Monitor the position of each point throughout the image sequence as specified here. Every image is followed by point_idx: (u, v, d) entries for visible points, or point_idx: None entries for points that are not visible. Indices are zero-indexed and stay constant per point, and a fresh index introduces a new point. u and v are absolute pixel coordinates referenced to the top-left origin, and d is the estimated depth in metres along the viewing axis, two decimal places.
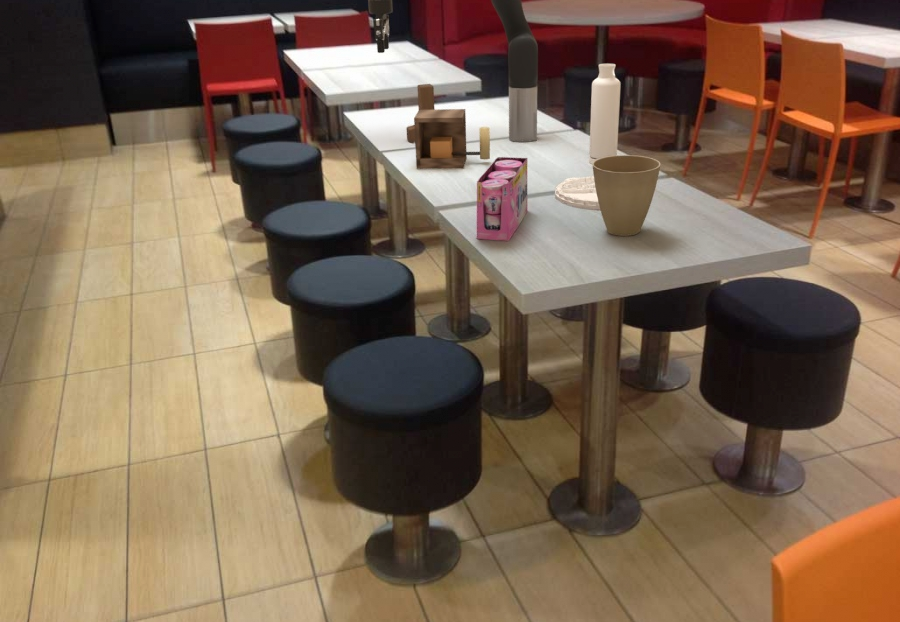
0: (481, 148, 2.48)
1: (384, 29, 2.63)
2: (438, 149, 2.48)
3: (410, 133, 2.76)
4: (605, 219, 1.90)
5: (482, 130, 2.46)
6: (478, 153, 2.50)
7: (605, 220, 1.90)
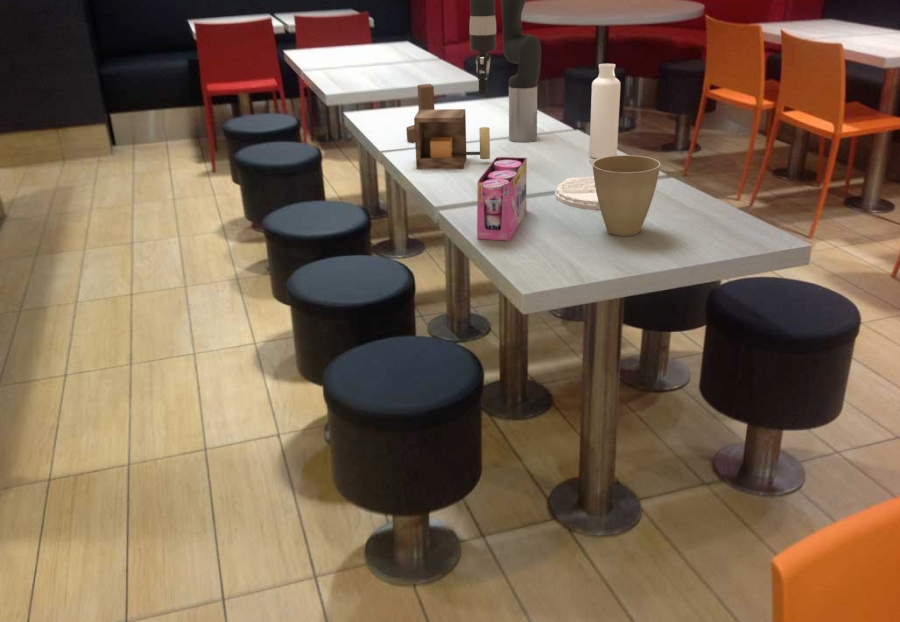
0: (481, 148, 2.48)
1: (487, 68, 2.36)
2: (438, 149, 2.48)
3: (410, 133, 2.76)
4: (605, 219, 1.90)
5: (482, 130, 2.46)
6: (478, 153, 2.50)
7: (605, 220, 1.90)
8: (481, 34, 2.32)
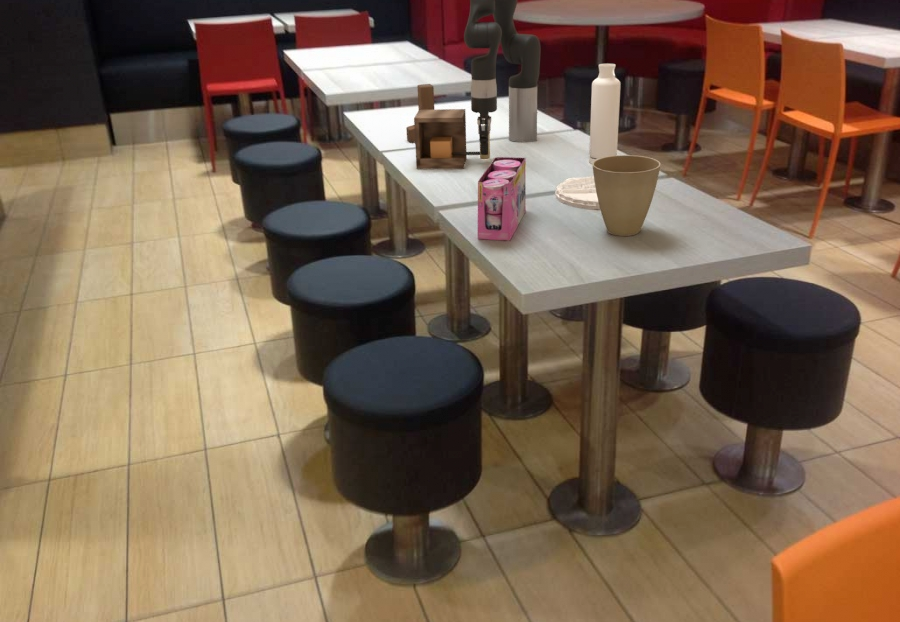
0: None
1: (488, 130, 2.45)
2: (438, 149, 2.48)
3: (410, 133, 2.76)
4: (605, 219, 1.90)
5: None
6: (478, 153, 2.50)
7: (605, 220, 1.90)
8: (482, 97, 2.39)
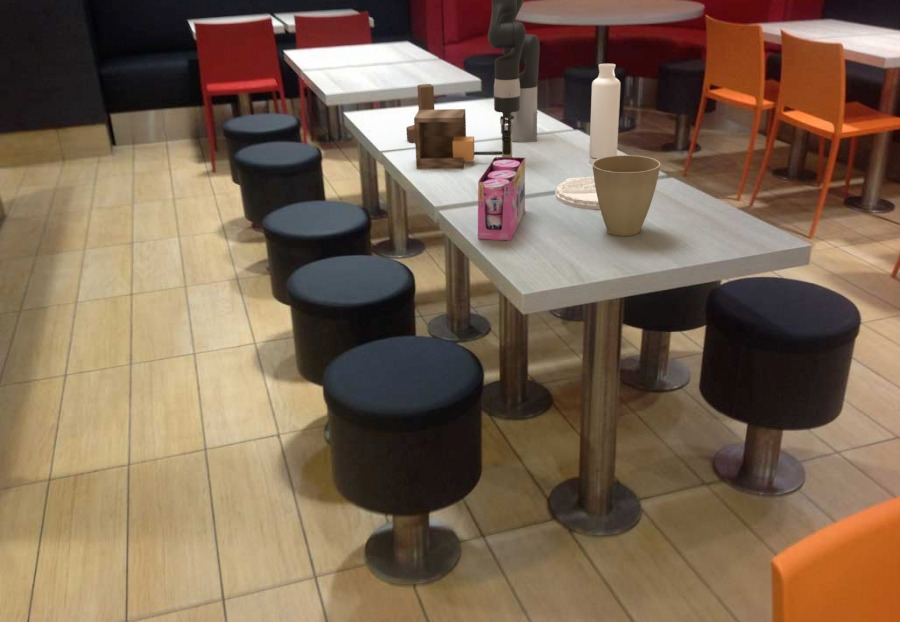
0: None
1: (511, 130, 2.44)
2: (460, 149, 2.47)
3: (410, 133, 2.76)
4: (605, 219, 1.90)
5: None
6: (500, 153, 2.49)
7: (605, 220, 1.90)
8: (505, 97, 2.39)
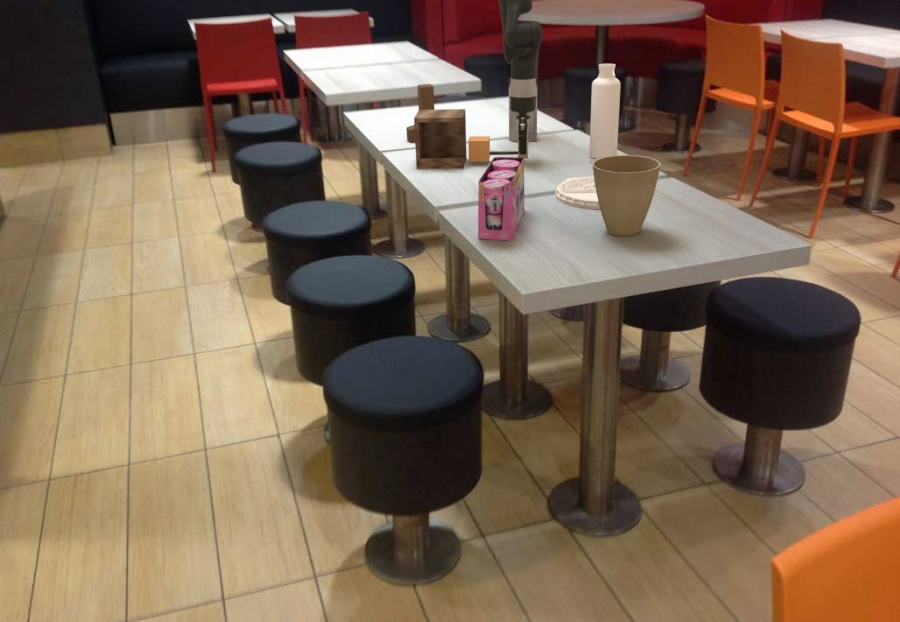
0: None
1: (527, 130, 2.43)
2: (476, 148, 2.46)
3: (410, 133, 2.76)
4: (605, 219, 1.90)
5: None
6: (516, 153, 2.48)
7: (605, 220, 1.90)
8: (522, 96, 2.38)
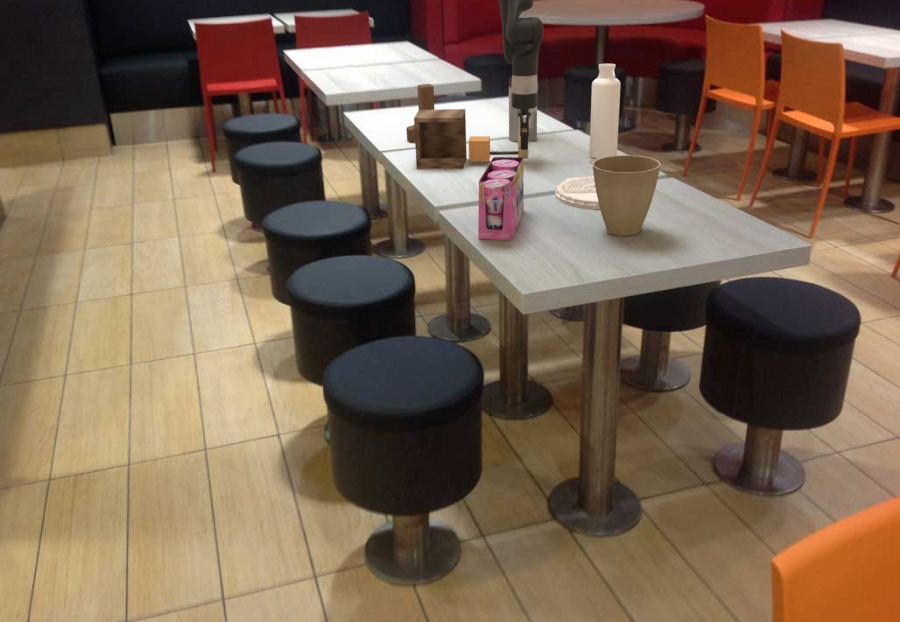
0: (520, 148, 2.47)
1: (529, 125, 2.42)
2: (476, 148, 2.46)
3: (410, 133, 2.76)
4: (605, 219, 1.90)
5: None
6: (516, 153, 2.48)
7: (605, 220, 1.90)
8: (523, 93, 2.38)
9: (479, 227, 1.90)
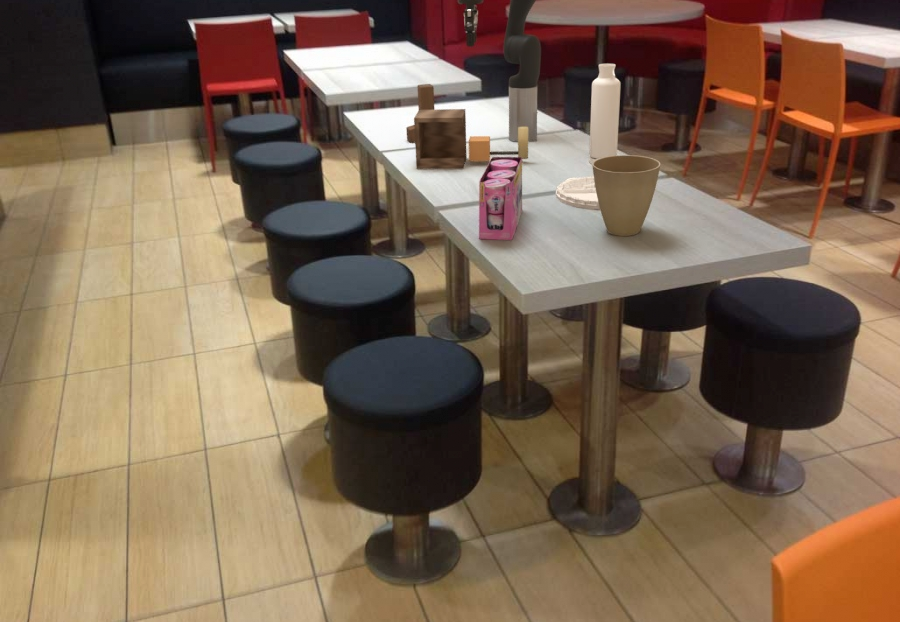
0: (520, 148, 2.47)
1: (475, 20, 2.40)
2: (476, 148, 2.46)
3: (410, 133, 2.76)
4: (605, 219, 1.90)
5: (521, 129, 2.44)
6: (516, 153, 2.48)
7: (605, 220, 1.90)
8: None
9: (480, 227, 1.90)
